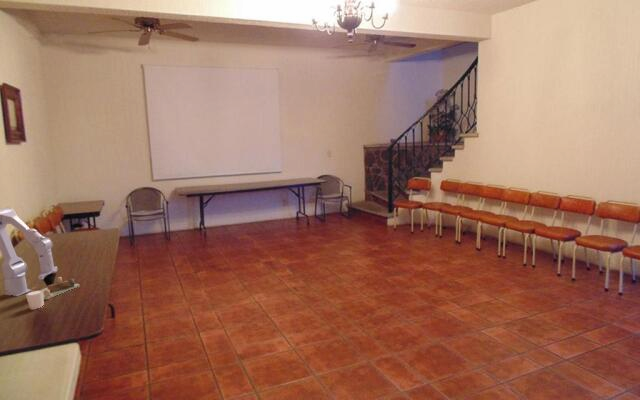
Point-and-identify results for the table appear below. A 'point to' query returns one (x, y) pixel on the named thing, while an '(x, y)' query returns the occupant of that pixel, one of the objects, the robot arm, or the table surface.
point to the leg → (61, 285)
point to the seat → (48, 294)
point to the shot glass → (35, 299)
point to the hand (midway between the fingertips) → (50, 288)
